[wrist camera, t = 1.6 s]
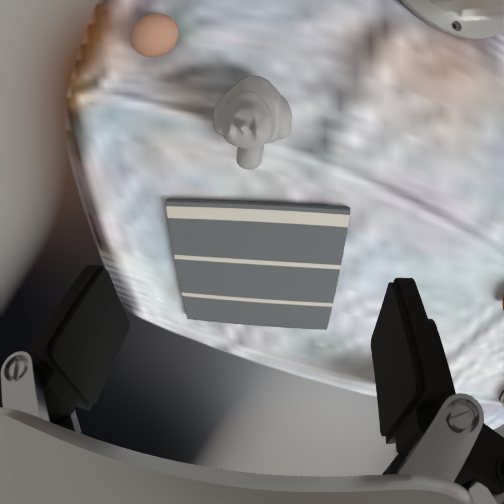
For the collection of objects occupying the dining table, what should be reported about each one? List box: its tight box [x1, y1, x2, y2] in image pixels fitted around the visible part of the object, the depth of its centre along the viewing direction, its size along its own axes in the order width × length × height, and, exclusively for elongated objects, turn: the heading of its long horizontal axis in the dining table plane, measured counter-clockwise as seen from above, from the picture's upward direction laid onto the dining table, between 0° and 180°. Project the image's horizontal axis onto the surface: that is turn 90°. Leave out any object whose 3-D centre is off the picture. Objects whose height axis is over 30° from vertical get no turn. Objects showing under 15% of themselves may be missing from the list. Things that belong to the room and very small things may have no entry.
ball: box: [130, 13, 178, 57], centre depth 18 cm, size 4×4×4 cm
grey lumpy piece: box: [213, 76, 292, 170], centre depth 20 cm, size 5×7×8 cm
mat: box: [165, 199, 350, 330], centre depth 31 cm, size 15×16×1 cm
